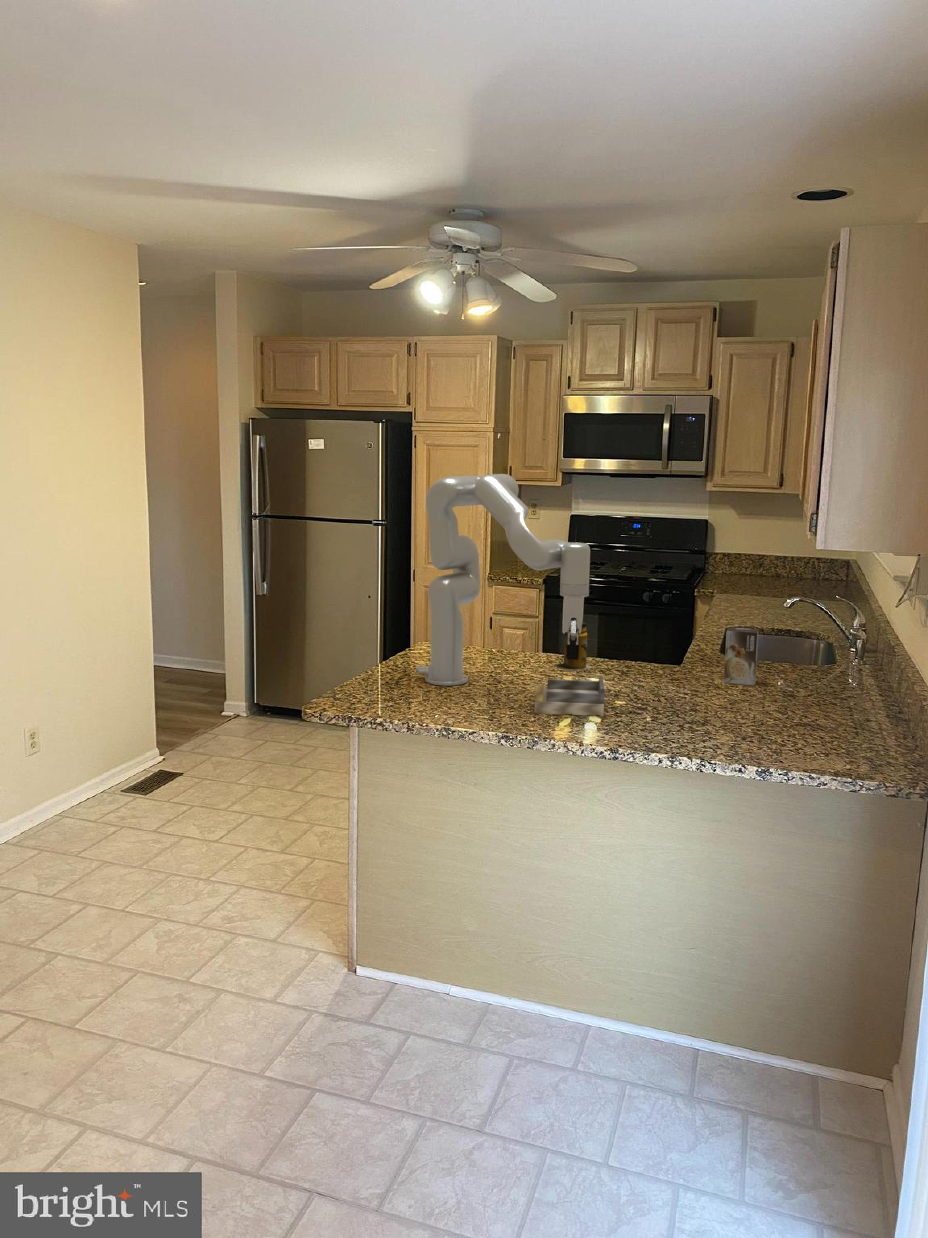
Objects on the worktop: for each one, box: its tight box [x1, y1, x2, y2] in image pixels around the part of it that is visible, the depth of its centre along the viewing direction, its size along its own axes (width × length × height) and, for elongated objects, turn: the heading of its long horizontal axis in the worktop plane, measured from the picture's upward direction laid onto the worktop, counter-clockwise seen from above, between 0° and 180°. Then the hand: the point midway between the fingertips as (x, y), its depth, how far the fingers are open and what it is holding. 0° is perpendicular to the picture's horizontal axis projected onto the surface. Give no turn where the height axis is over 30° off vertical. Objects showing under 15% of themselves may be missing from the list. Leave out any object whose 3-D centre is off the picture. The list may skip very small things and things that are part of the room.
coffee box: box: [723, 626, 760, 686], centre depth 277 cm, size 9×6×16 cm
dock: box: [533, 675, 605, 717], centre depth 250 cm, size 18×16×7 cm
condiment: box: [551, 621, 593, 672], centre depth 247 cm, size 7×8×12 cm
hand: (572, 655), depth 248 cm, fingers closed on condiment, 6 cm apart
